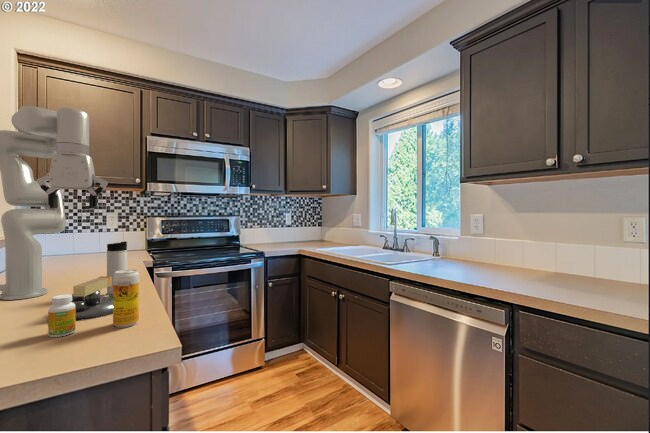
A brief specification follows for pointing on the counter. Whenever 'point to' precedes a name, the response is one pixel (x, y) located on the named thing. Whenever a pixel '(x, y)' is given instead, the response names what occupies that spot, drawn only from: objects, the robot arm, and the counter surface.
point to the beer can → (125, 298)
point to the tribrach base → (92, 307)
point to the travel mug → (116, 260)
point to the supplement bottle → (61, 316)
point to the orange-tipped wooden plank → (92, 289)
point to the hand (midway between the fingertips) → (73, 208)
